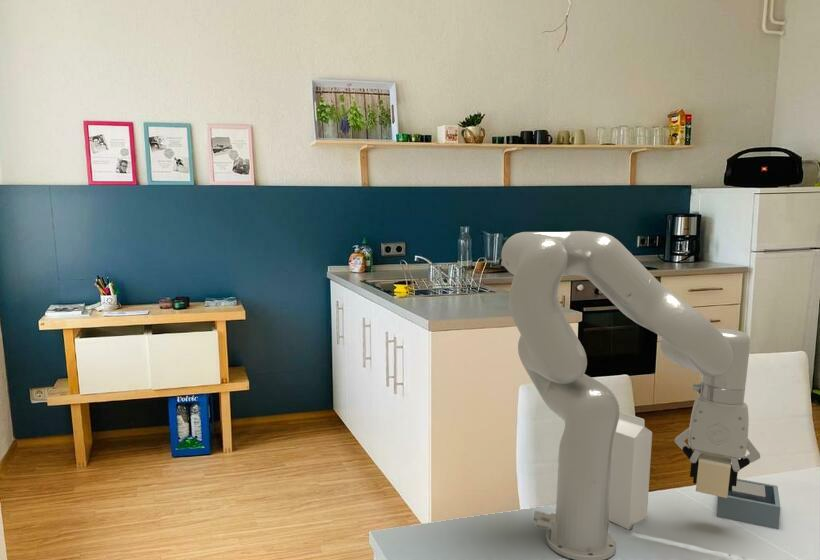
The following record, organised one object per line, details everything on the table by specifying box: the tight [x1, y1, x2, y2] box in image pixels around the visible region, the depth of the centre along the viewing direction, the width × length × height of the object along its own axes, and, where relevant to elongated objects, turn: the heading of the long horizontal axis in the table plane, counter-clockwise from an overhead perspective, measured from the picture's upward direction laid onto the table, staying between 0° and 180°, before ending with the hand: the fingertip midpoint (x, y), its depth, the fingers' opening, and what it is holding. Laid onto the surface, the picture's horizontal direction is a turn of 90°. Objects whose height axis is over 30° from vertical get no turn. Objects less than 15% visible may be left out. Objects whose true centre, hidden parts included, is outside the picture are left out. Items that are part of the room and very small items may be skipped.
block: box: [731, 481, 766, 503], centre depth 135 cm, size 6×6×5 cm
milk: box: [608, 411, 653, 531], centre depth 131 cm, size 6×6×22 cm
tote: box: [716, 478, 781, 530], centre depth 135 cm, size 11×11×6 cm
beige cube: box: [695, 452, 732, 498], centre depth 126 cm, size 6×6×6 cm
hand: (712, 483), depth 127 cm, fingers closed on beige cube, 5 cm apart
